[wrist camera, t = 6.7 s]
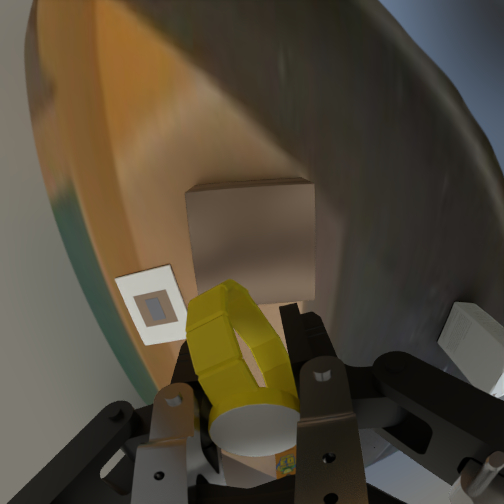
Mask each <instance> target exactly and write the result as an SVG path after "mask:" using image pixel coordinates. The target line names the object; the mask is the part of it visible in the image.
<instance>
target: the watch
mask: <svg viewBox="0 0 504 504" xmlns="http://www.w3.org/2000/svg"><path fill="white" fill-rule="evenodd" d="M248 292H249V291H248V289H246V288H245V287H243V286H242V285H240V284H239V283H237V282H236V281H234V280H232V279H227V280H226V281H224V282H222V283H220V284H218V285H216V286H215V287H213V288H211V289H209V290H207V291H205V292H204V293H202V294H200V295H198V296H197V297H195V298H194V299H192V300H190V303H189V304H188V311H187V319H186V328H185V332H186V340H187V344H188V347H189V351H190V355H191V359H192V363H193V367H194V370H195V374H196V375H198V376H199V378H198V381H199V383H200V385H201V386H202V388H203V390H204V392H205V394H206V395H207V397H208V399H209V401H210V402H211V404H212V408H211V411H210V414H209V422H208V432H209V436H210V438H211V440H212V441H213V442H214V443H215V444H216V445H217V446H218V447H220V448H222V449H223V450H225V451H227V452H230V453H233V454H237V455H241V456H252V457H257V456H268V455H273V454H277V453H281V452H283V451H285V450H288V449H290V448H292V447H294V446H295V445H296V437H297V422H298V421H300V400H299V399H298V395H297V390H296V386H295V381H294V377H293V373H292V368H291V364H290V359H289V355H288V353H287V351H286V349H285V347H284V345H283V343H282V341H281V339H280V337H279V335H278V334H277V333H276V332H275V330H274V329H273V327H272V326H271V324H270V323H269V322H268V320H267V319H266V317H265V316H264V315H263V313H262V312H261V310H260V309H259V307H258V306H257V305H256V303H255V302H254V300H253V299H252V297H251V296H250V295H249V293H248ZM233 328H234V329H235V331H236V332H237V333H238V334H239V336H240V337H241V338H242V339H243V340H244V342H245V343H246V344H247V345H248V347H249V348H250V350H251V352H252V354H253V356H254V358H255V360H256V362H257V365H258V367H259V369H260V371H261V373H263V374H262V375H263V378H264V382H265V385H266V387H259V386H258V384H257V382H256V380H255V378H254V377H253V375H252V373H251V371H250V369H249V368H248V366H247V364H246V362H245V360H244V359H242V357H243V356H242V353H241V350H240V347H239V344H238V341H237V338H236V335H235V332H234V329H233Z"/></svg>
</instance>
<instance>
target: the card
mask: <svg viewBox="0 0 504 504" xmlns="http://www.w3.org/2000/svg"><path fill="white" fill-rule="evenodd" d="M115 280H116V283H117V285H118V288H119V290H120V292H121V295H122V297H123V299H124V301H125V304H126V306H127V308H128V310H129V313H130V315H131V317H132V319H133V321H134V323H135V326H136V328H137V330H138V332H139V334H140V336H141V338H142V340H143V342H144V344H145V345H151V344H158V343H164V342H170V341H176V340H182V339H186V332H185V328H186V319H187V308H186V305H185V303H184V300H183V298H182V295H181V292H180V290H179V287H178V284H177V282H176V279H175V276H174V273H173V270H172V268H171V265H170V264H169V265H165V266H161V267H157V268H153V269H149V270H145V271H141V272H137V273H133V274H129V275H125V276H121V277H117V278H115Z"/></svg>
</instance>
